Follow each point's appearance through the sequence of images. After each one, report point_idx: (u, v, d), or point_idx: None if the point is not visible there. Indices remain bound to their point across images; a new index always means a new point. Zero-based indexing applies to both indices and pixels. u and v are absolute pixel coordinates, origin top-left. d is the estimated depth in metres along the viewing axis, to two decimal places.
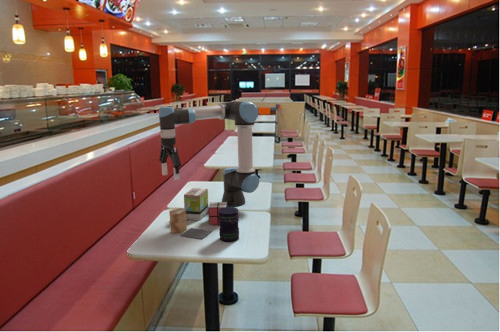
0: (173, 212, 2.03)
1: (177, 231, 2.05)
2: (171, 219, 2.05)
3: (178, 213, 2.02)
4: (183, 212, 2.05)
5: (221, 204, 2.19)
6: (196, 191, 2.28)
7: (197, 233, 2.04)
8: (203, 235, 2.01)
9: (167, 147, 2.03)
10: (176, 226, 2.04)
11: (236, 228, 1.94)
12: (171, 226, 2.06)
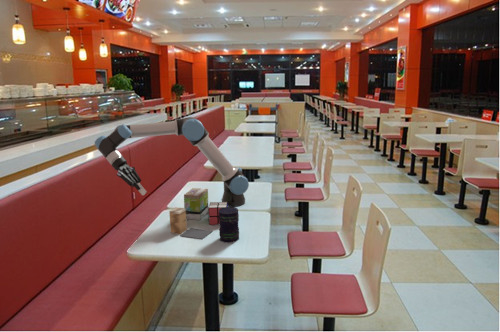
0: (173, 212, 2.03)
1: (177, 231, 2.05)
2: (171, 219, 2.05)
3: (178, 213, 2.02)
4: (183, 212, 2.05)
5: (221, 204, 2.19)
6: (196, 191, 2.28)
7: (197, 233, 2.04)
8: (203, 235, 2.01)
9: None
10: (176, 226, 2.04)
11: (236, 228, 1.94)
12: (171, 226, 2.06)
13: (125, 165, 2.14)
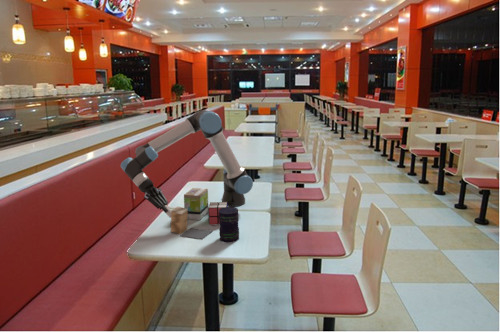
0: (175, 212, 2.03)
1: (177, 231, 2.05)
2: (172, 218, 2.04)
3: (180, 213, 2.02)
4: (185, 213, 2.05)
5: (221, 204, 2.19)
6: (196, 191, 2.28)
7: (197, 233, 2.04)
8: (203, 235, 2.01)
9: None
10: (177, 225, 2.04)
11: (236, 228, 1.94)
12: (172, 225, 2.05)
13: (152, 187, 2.10)
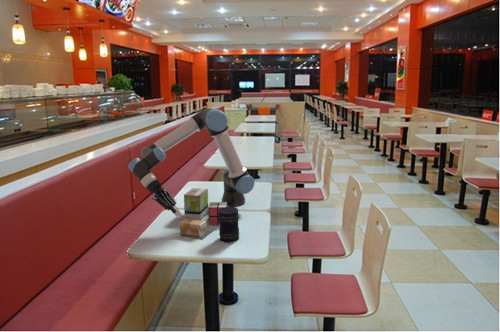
0: (199, 229, 1.99)
1: (182, 230, 2.04)
2: (192, 225, 2.01)
3: (199, 235, 2.00)
4: None
5: (221, 204, 2.19)
6: (196, 191, 2.28)
7: None
8: (203, 235, 2.01)
9: None
10: (187, 230, 2.02)
11: (236, 228, 1.94)
12: (185, 224, 2.02)
13: (160, 188, 2.09)
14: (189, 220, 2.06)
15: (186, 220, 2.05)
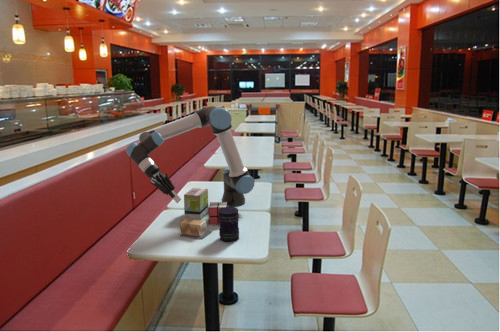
0: (199, 229, 1.99)
1: (182, 230, 2.04)
2: (192, 225, 2.01)
3: (199, 235, 2.00)
4: None
5: (221, 204, 2.19)
6: (196, 191, 2.28)
7: None
8: (203, 235, 2.01)
9: None
10: (187, 230, 2.02)
11: (236, 228, 1.94)
12: (185, 224, 2.02)
13: (158, 172, 2.07)
14: (189, 220, 2.06)
15: (186, 220, 2.05)
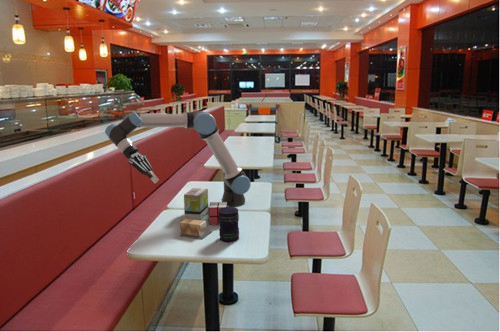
0: (199, 229, 1.99)
1: (182, 230, 2.04)
2: (192, 225, 2.01)
3: (199, 235, 2.00)
4: None
5: (221, 204, 2.19)
6: (196, 191, 2.28)
7: None
8: (203, 235, 2.01)
9: None
10: (187, 230, 2.02)
11: (236, 228, 1.94)
12: (185, 224, 2.02)
13: (136, 153, 2.10)
14: (189, 220, 2.06)
15: (186, 220, 2.05)
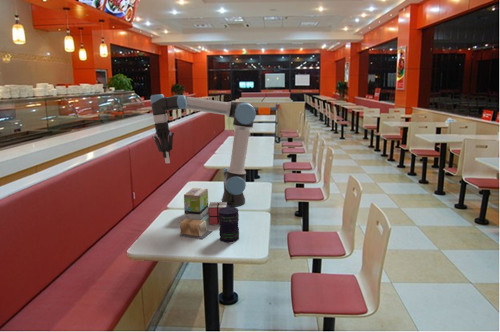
0: (199, 229, 1.99)
1: (182, 230, 2.04)
2: (192, 225, 2.01)
3: (199, 235, 2.00)
4: None
5: (221, 204, 2.19)
6: (196, 191, 2.28)
7: None
8: (203, 235, 2.01)
9: None
10: (187, 230, 2.02)
11: (236, 228, 1.94)
12: (185, 224, 2.02)
13: (165, 130, 2.24)
14: (189, 220, 2.06)
15: (186, 220, 2.05)
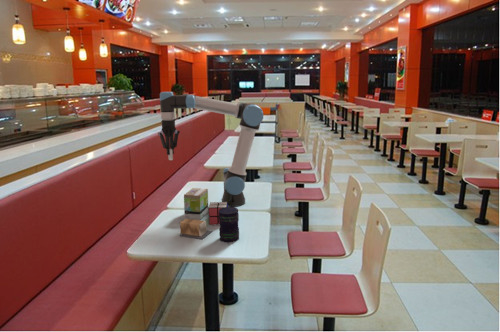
0: (199, 229, 1.99)
1: (182, 230, 2.04)
2: (192, 225, 2.01)
3: (199, 235, 2.00)
4: None
5: (221, 204, 2.19)
6: (196, 191, 2.28)
7: None
8: (203, 235, 2.01)
9: None
10: (187, 230, 2.02)
11: (236, 228, 1.94)
12: (185, 224, 2.02)
13: (171, 127, 2.26)
14: (189, 220, 2.06)
15: (186, 220, 2.05)
